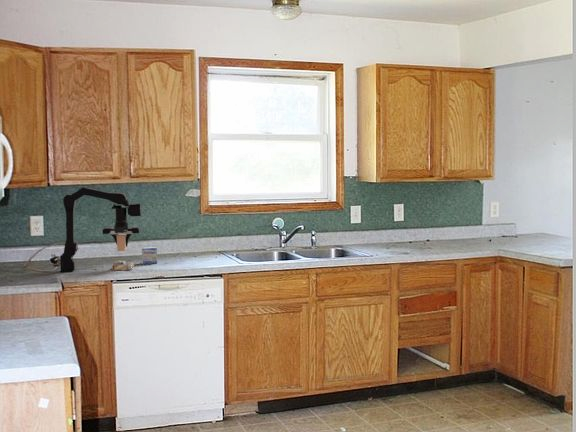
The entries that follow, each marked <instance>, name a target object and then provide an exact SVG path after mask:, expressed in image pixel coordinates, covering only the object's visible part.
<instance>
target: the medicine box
mask: <svg viewBox="0 0 576 432" xmlns="http://www.w3.org/2000/svg"><path fill="white" fill-rule="evenodd" d="M141 263H142V265H154V264H158V248H157V246H152V247H150V246H149V247H141Z"/></svg>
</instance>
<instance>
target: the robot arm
mask: <svg viewBox="0 0 576 432" xmlns="http://www.w3.org/2000/svg"><path fill="white" fill-rule="evenodd" d="M83 196H89V197H93V198H97V199H103V200H107V201H109V202H111V203H114V204H113V205H112V206H111V207H110V208H111V209H112V210H115V211H114V212H115V213H114V214H115V223H114V226H113V228H112V226H111V227H110V226H109V227H104V228H103V229H102V231H101V232H102V235H110V236H112V237H113V239H114V242H115V244H116V245H117V235H118V234H126V247H127V248H128V244H129V241H130V238H131V237H132V236H133V235H134V234H140V233H141V232H142V231H141V227H140V226H132V227H131V228H130V227H129V223H128V222H127V221H128V216H129V217H131V218H135V217H138V218H139V217H142V208H141V203H130V201H129V200H128V199H127V196H126V194H125V193H124V192H118V191H117V192H116V191H115V192H113V191H112V192H109V191H105V190H104V191H103V190H101V189H100V190H99V189H95V188H90V187H87V186H82V187H81V188H79V190H77V191H75V192H73V193H68V194H66V195H65V196H64V197H63V199H62V202H63V203H62V204H63V207H64V210H65V238H66V239H65V243H64V246H63V248H64V249H63V253H62V254H61V255H60V256H59V259H60V260H59V262H60V263H59V265H60V269H59V272H60V273H71V272H74V271H75V270H76V261H75V259H74V256H75V255H76V254H77V252H78V251H79V246H78V245H79V241H76V240H75V211H76V210H75V209H76V205H77V200H78V199H80V198H81V197H83Z"/></svg>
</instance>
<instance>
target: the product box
mask: <svg viewBox="0 0 576 432" xmlns="http://www.w3.org/2000/svg"><path fill="white" fill-rule="evenodd" d="M117 234H118V235H117V244H116V250H117V252H126V250H127V248H128V246H127V247H126V234H127V233H117Z"/></svg>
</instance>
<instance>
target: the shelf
mask: <svg viewBox="0 0 576 432" xmlns="http://www.w3.org/2000/svg"><path fill="white" fill-rule="evenodd" d="M134 267H135V265H134V261H131V262H130V263H129V264H128V265H119V261H116V262H115V263H114V264H113V265H112V269H111V272H120V271H121V272H122V271H123V270H131V269H132V268H133V269H134ZM133 269H132V270H133ZM132 270H131V271H132ZM123 272H124V271H123Z"/></svg>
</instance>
